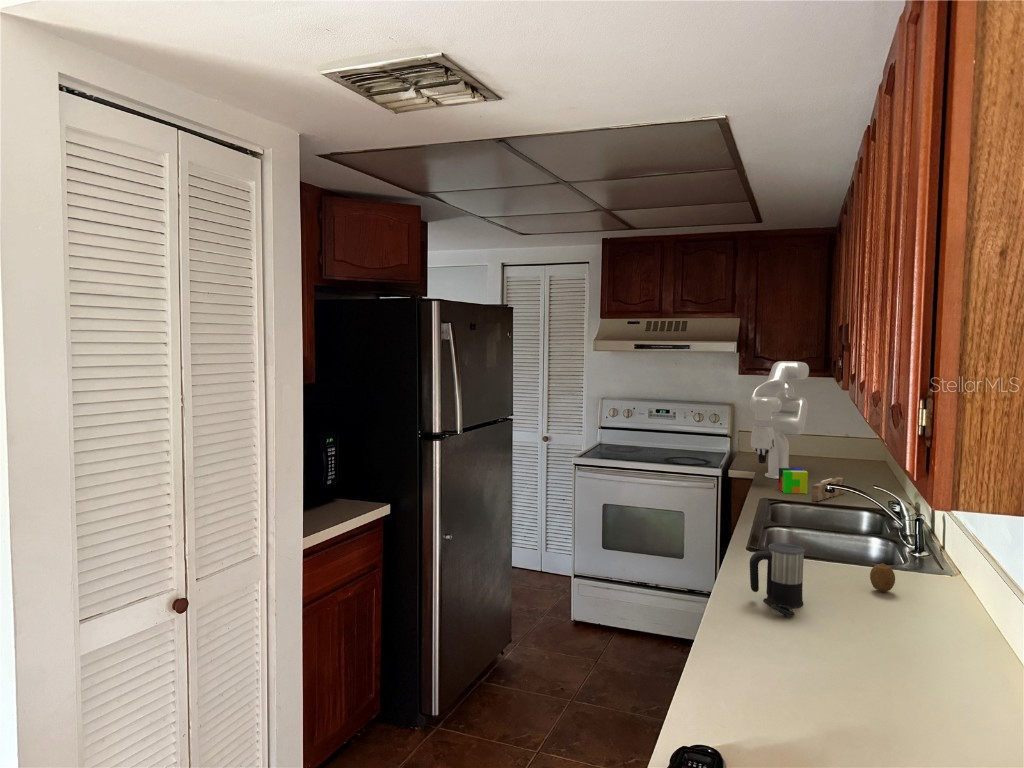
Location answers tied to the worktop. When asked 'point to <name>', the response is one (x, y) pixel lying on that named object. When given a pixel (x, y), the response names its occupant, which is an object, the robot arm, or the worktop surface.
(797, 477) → the puzzle toy
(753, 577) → the milk frother
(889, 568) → the fruit
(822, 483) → the wooden notched board
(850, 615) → the worktop surface
